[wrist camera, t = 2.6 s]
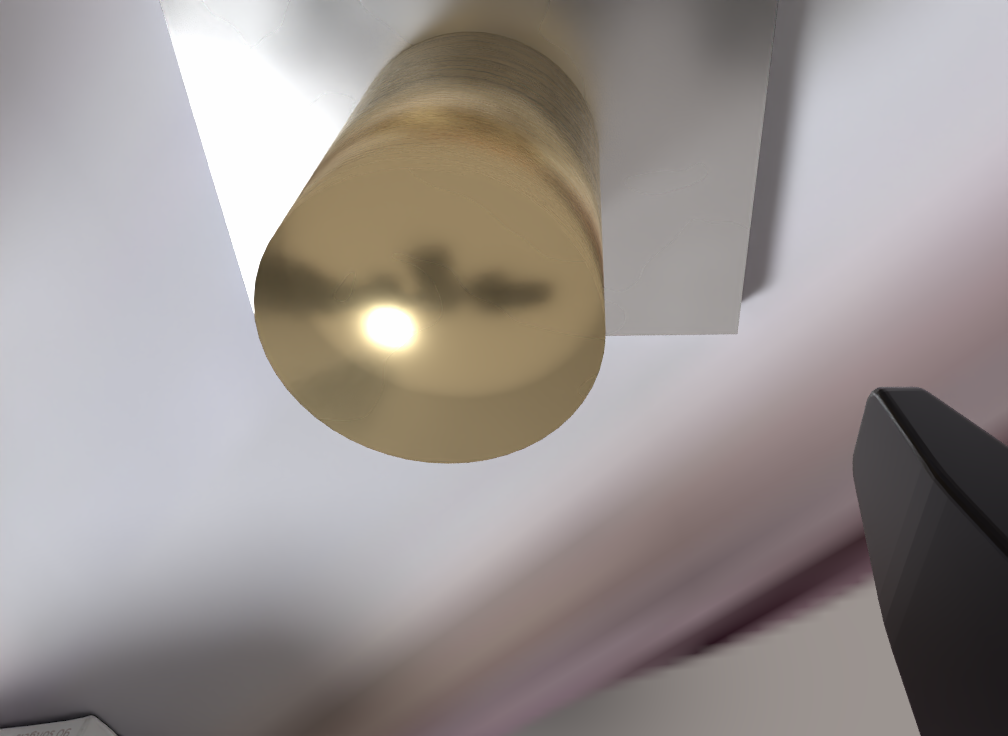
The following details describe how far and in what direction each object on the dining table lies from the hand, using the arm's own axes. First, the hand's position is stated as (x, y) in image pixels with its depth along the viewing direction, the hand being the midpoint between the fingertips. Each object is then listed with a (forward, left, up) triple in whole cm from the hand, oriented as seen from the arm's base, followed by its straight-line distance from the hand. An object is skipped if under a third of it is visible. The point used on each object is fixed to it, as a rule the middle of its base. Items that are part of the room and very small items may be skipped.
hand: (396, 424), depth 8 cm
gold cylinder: (0, 0, -6) cm, 7 cm away
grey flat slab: (0, 0, -7) cm, 7 cm away
